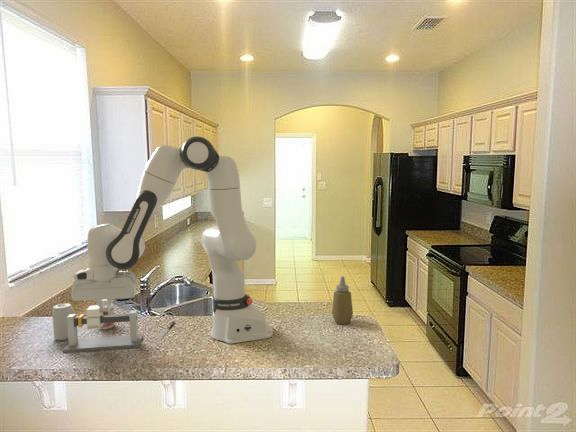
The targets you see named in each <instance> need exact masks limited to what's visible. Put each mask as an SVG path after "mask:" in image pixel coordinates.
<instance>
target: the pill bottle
mask: <svg viewBox="0 0 576 432" xmlns="http://www.w3.org/2000/svg"><path fill="white" fill-rule="evenodd" d="M101 303H102V304H103V306H108V304H109V302H108V301H107V299H105V300H102V301H101ZM114 308H115V307H114V304H113V303H112V304H111V306H110V312H103V315H115V309H114ZM114 326H115V322H113V323H104V324H103V326H102V327H101V328H100V329H99V330H107V329H111V328H113V327H114Z"/></svg>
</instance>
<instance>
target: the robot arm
mask: <svg viewBox="0 0 576 432" xmlns="http://www.w3.org/2000/svg"><path fill="white" fill-rule="evenodd" d="M185 169H190V170H195V171H201V172H204V173H205V175H206V178H207V186H208V187H207V189H208V204H209V211H210V214H211V216H213V218H214V220H215V224H216V225H213V226H211V227H207V228H206V229H205V230H204V231H203V233H202V235H201V237H200V238H201V239H200V241H201V246H202V248H203V249H204V251H205V253H206V254H207V258H208V262H209V265H210V269H211V274H212V282H213V283H212V284H213V285H212V286H213V296H212V312H213V320H212V326H211V332H210V337H211V338H212V339H215V340H217V341H221V342H225V343H227V344H229V345H231V344H238V343H244V342H251V341H258V340H264V339H265V340H266V339H270V338H271V337H272V336H273V334H274V330H273V326H272V325H271V324H270V323H269V322H267V319H266V316H265V314H264V313H263V312H262V311H261V310H260V309H258V308H257V307H256V306H254V305H252V304H253V299H252V298H251V296H250V295H249V294H246V293H245V292H246V291H245V290H246V289H245V273H244V270H243V269H242V268H241V266H240V264H239V262H238V261H241V262H242V261H245V260H246V261H247V260H249V259H251V258H252V257H253V256H254V254H255V253H256V250H257V240H256V238H255V236H254V235H253V234H252V232H251V231H250V229H249V227H248V225H247V222H246V218H245V216H244V213H243V207H242V196H241V181H240V174H239V169H238V165H237V163H236V160H235V159H234V158H232V157H230V156H226V155H220V154H218V152H217V150H216V148H214V145H213V144H212V142H210V141H209V140H208V139H207V138H205V137H203V136H198V135H197V136H191V137H189V138H188V139H186V140H185V141H184V142H183V144H182V145H181V146H180V147H175V146H172V145H168V144H163V145H162V144H161V145H160V146H157V147H156V149H155V151H154V152H153V153H152V155H151V156H150V158H149V159H148V161H147V163H146V166H145V167H144V169H143V173H141V174H142V175H141V176H140V181H139V184H138V187H137V191H136V195H135V199H134V202H133V205H132V207H131V210H130V212H129V214H128V216H127V218H126V220H125V223H124V224H123V226H122V228H119V227H117V226H115V224H114V225H113V224H112V223H103V224H98V225H95V226H92V227H91V228H90V229H89V230H88V233H87V244H86V245H87V254H88V267H86V268H83V269H80V270H78V271H77V272H75V273H74V274H73V279H74V281H73V282H72V285H71V293H70V294H71V299H72V300H73V301H74V302H81V301H82V302H83V301H84V302H85V301H95V303H96V305H98V306H99V307H100V312H110V306H111V304H113V302H114V300H123V299H133V298H134V297H136V295H137V289H136V284H135V283H136V281H137V277H136V273H134V272H133V271H131V270H128V269H130V268H132V267H133V266H135V265H136V264H137V262H138V260H139V259H140V258H141V257H142V255H143V254H144V252H145V249H146V241H145V239H144V238H143V235H144V232H145V230H146V228H147V225H148V223H149V221H150V219H151V217H152V216H153V214H154V213H155V212H156V211H157V210H158V208H160V207H161V206H162V205H163V204H164V203H165V202H166V201H167V199H168V198H169V197H170V195H171V193H172V191H173V190H174V188H175V185H176V183H177V180H178V178H179V176H180V175H181V173H182V172H183V171H184V170H185ZM118 269H119V270H120V271H119V270H118ZM124 270H126V271H124ZM105 299H107V301H108V302H109V304H108V306H103V304H102V303H101V301H102V300H105Z"/></svg>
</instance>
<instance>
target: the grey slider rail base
mask: <svg viewBox="0 0 576 432" xmlns="http://www.w3.org/2000/svg"><path fill="white" fill-rule="evenodd" d="M113 322H114V323H122V322H123V323H124V322H126V323H127V322H129V331H130V332H129V333H130V335H117V336H116V335H115V336H101V337H87V338H86V337H85V338H78V337H79V336H78V328H82V327H83V326H84V325H87V316H85V314H84V313H81V314H78V315H77V313H73V314H70V315H69V316H68V317H67V326H68V340H67V341H68V343H67V344H66V345H65V346H64V348H63V349H62V353H75V352H89V351H90V352H93V351H105V350H108V351H109V350H119V349H121V350H122V349H134V348H139V347H140V345H141V343H142V340H143V338H144V334H139V323H138V322H139V320H138V310H135V309H134V310H130V312H129V313H123V314H122V313H121V314H114V315H103V316H101V317H100V323H113Z"/></svg>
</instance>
